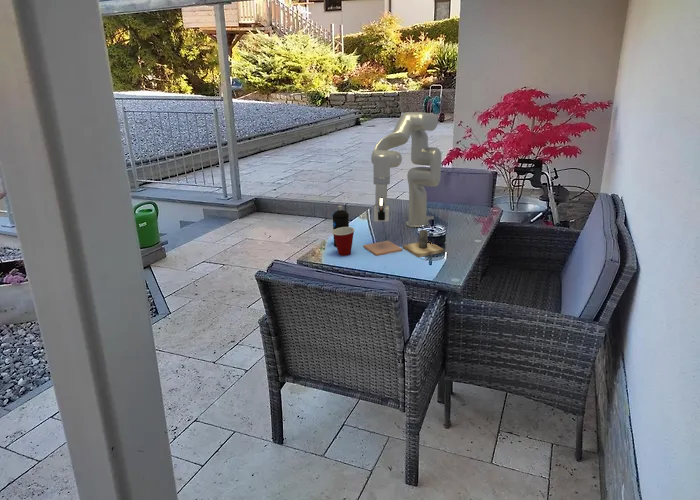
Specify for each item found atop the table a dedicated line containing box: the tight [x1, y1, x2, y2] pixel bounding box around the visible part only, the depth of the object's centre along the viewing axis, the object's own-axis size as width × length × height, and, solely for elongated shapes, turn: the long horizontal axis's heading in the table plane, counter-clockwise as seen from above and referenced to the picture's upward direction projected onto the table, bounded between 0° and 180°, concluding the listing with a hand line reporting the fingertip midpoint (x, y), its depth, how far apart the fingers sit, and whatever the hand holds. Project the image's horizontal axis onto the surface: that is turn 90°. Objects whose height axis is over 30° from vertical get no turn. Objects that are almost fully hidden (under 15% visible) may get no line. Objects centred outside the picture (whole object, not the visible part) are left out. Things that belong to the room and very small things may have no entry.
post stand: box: [402, 229, 445, 258], centre depth 240 cm, size 14×14×10 cm
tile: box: [362, 240, 403, 257], centre depth 245 cm, size 14×14×1 cm
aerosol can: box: [331, 205, 350, 248], centre depth 249 cm, size 8×8×20 cm
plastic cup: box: [331, 226, 355, 257], centre depth 238 cm, size 11×11×12 cm
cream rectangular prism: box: [373, 205, 390, 222], centre depth 238 cm, size 7×7×6 cm
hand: (381, 217), depth 239 cm, fingers closed on cream rectangular prism, 6 cm apart
